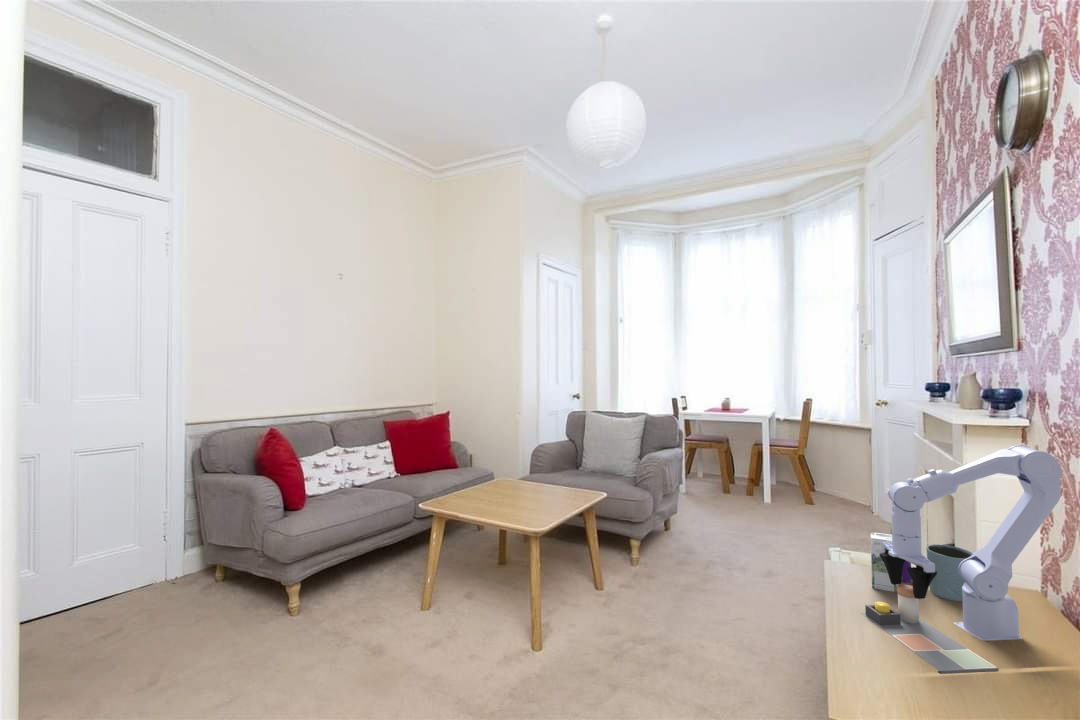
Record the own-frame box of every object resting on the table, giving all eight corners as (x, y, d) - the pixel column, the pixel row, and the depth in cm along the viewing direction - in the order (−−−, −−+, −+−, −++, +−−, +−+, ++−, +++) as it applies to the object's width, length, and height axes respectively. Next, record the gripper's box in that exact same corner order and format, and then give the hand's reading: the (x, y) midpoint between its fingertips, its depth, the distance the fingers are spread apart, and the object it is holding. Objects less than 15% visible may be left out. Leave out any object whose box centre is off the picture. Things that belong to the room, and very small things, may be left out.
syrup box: (896, 586, 142) (894, 534, 142) (897, 594, 137) (895, 540, 137) (871, 582, 145) (870, 530, 145) (871, 590, 140) (870, 537, 140)
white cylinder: (910, 614, 125) (909, 584, 125) (924, 623, 121) (923, 591, 121) (893, 615, 125) (892, 584, 125) (906, 624, 121) (905, 592, 121)
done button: (884, 612, 125) (884, 601, 125) (893, 618, 122) (893, 607, 122) (872, 612, 125) (872, 601, 125) (881, 618, 122) (880, 607, 122)
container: (915, 585, 143) (913, 531, 143) (896, 584, 144) (894, 530, 144) (906, 578, 147) (905, 525, 147) (888, 577, 148) (886, 525, 148)
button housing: (885, 614, 126) (885, 604, 126) (900, 624, 121) (900, 614, 121) (865, 614, 126) (865, 605, 126) (879, 625, 121) (879, 614, 121)
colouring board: (908, 613, 127) (908, 610, 127) (998, 671, 103) (998, 667, 103) (861, 615, 127) (860, 612, 127) (940, 673, 103) (940, 670, 103)
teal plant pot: (925, 585, 143) (923, 541, 143) (971, 592, 137) (970, 547, 138) (930, 600, 134) (929, 553, 134) (980, 608, 129) (979, 560, 129)
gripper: (869, 524, 130) (870, 578, 130) (913, 545, 116) (914, 605, 116) (896, 524, 130) (897, 577, 130) (943, 544, 116) (944, 604, 116)
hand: (907, 590), depth 123 cm, fingers open, 7 cm apart
